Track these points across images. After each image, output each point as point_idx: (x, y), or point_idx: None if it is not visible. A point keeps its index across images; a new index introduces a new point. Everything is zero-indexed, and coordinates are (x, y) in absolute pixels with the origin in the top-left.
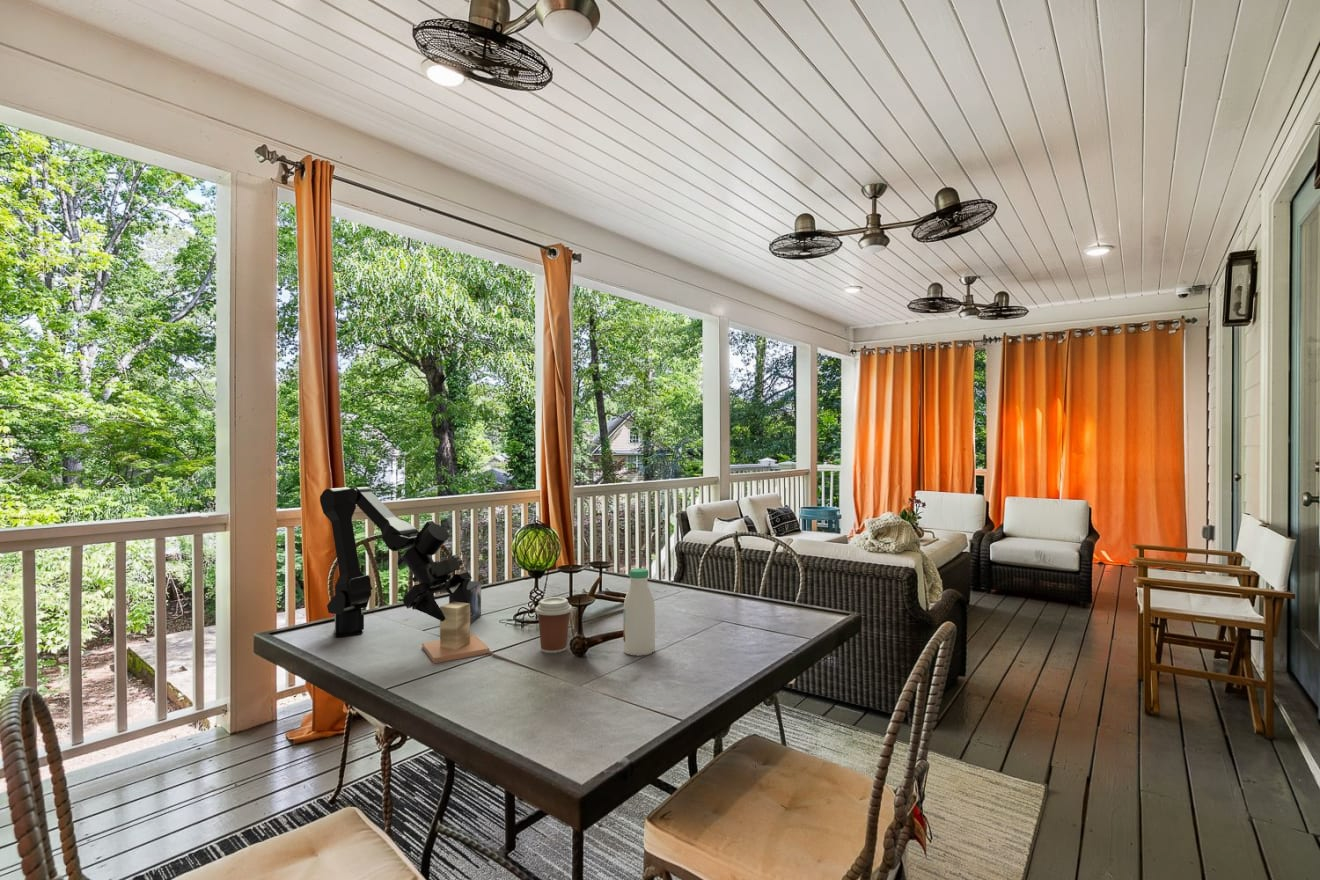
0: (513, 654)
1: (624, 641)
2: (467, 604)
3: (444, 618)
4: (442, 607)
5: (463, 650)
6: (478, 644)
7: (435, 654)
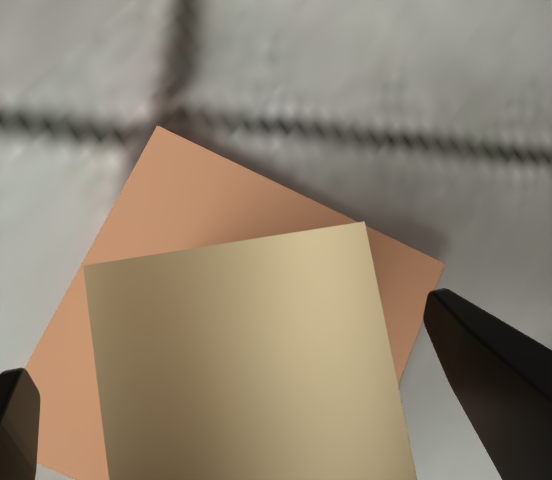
0: (105, 12)
1: None
2: (140, 259)
3: (444, 290)
4: (410, 457)
5: (269, 224)
6: (141, 233)
7: (404, 307)
